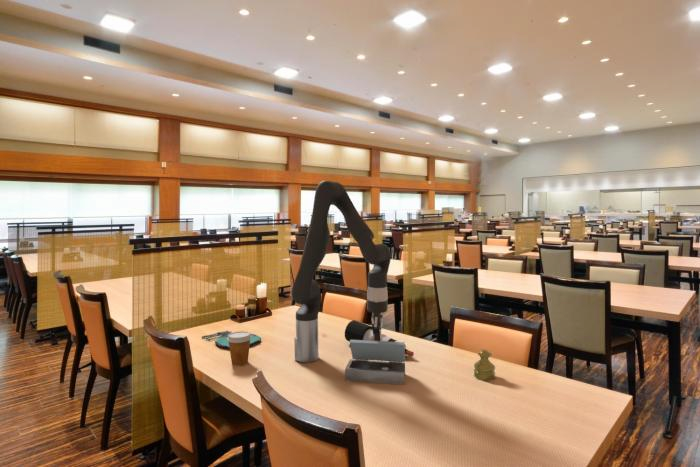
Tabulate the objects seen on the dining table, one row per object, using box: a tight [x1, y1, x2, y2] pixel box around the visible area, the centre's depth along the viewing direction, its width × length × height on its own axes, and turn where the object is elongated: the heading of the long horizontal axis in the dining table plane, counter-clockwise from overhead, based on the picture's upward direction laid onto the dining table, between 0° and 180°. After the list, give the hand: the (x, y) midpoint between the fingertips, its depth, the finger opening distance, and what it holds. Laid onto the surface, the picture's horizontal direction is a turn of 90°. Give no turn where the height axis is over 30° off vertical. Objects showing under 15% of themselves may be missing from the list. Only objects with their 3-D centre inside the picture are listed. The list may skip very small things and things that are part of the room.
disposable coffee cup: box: [227, 330, 251, 367], centre depth 162 cm, size 10×10×12 cm
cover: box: [349, 340, 406, 363], centre depth 149 cm, size 20×11×2 cm
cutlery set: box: [201, 330, 262, 349], centre depth 191 cm, size 20×30×2 cm, turn 49°
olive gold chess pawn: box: [473, 349, 496, 381], centre depth 147 cm, size 7×7×10 cm
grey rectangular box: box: [344, 359, 406, 385], centre depth 147 cm, size 21×9×4 cm, turn 80°
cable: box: [344, 319, 415, 358], centre depth 175 cm, size 10×34×10 cm, turn 49°
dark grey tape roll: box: [378, 366, 392, 370], centre depth 147 cm, size 5×5×4 cm
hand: (377, 343), depth 148 cm, fingers closed
